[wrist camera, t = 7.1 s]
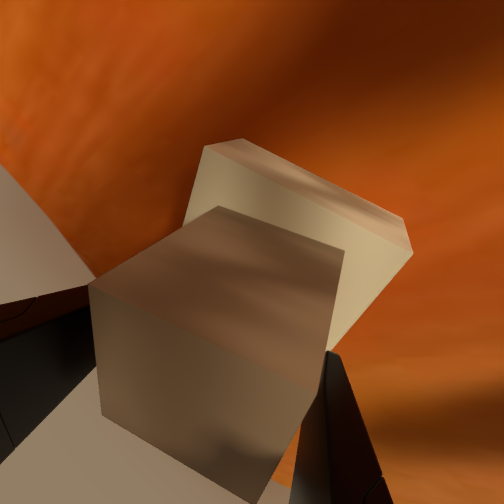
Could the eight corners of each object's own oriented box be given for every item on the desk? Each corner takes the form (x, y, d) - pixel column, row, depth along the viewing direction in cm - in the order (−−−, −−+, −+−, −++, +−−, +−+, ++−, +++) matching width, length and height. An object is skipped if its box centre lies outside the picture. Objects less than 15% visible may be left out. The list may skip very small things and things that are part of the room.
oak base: (401, 215, 12) (413, 253, 9) (316, 329, 17) (302, 383, 13) (245, 137, 13) (204, 145, 10) (202, 263, 18) (162, 298, 14)
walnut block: (344, 250, 10) (317, 394, 5) (302, 346, 12) (254, 506, 7) (218, 205, 11) (87, 283, 6) (202, 302, 13) (101, 415, 8)
